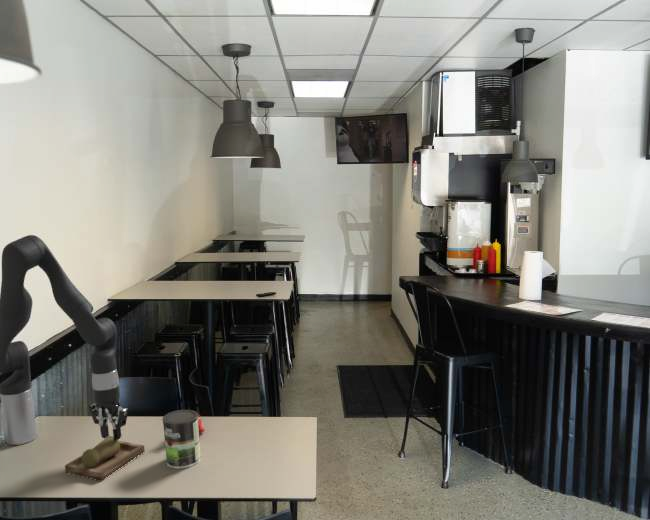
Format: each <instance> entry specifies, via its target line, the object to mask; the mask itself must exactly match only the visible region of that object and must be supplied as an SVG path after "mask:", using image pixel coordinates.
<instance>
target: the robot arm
mask: <svg viewBox="0 0 650 520" xmlns="http://www.w3.org/2000/svg"><path fill="white" fill-rule="evenodd" d="M2 249H3V250H2V253H1V282H0V283H1V284H0V375H3V374H7V373H12V374H11V375H10V376H9V377H8V378H6V379H5V380H2V382H0V404H1V405H0V406H1V412H2V413H1V415H0V416H1V424H2V432H3V438H4V442H6V444H7V445H11V446H18V445H23V444H27V443H30V442H32V441H33V440H35V439H36V438H38V432H37V423H36V416H35V415H36V414H35V406H34V400H33V399H34V398H33V391H32V385H31V384H32V383H31V381H32V378H31V377H32V375H31V364H30V362H31V361H30V354H29V348H28V346H27V344H26V343H25V342H24V341H22V340H16V341H13V340H15V338H16V337H17V336H18V335H19V334H20V333H21V332H22V331H23V329H24V328H25V327H26V326H27V324H28V323H29V321H30V319H31V314H32V309H33V298H32V295H31V294H30V293H29V291H28V289H26V288H25V278H26V275H27V272H28V271H29V270H32V269H34V268H35V267H39V268H40V269H41V270H42V271H43V272H44V273H45V274H46V276H47V277H48V280H49V283H50V287H51V291H52V295H53V298H54V301H55V303H56V304H57V306H59V308H60V309H61V310H62V311H63V312H64V313H65V314H66V315H67V317H68V318H69V319H70V320H71V321H72V322H73V324H74V327H75V329H76V330H77V332H78V334H79V335H80V337H81V338H82V339H83V341H84V342H85V343H86V344H88V345H89V346H93V347H94V351H93V352H92V353H91V355H90V369H91V383H92V384H91V385H92V394H93V402H94V403H92V404H91V405H89V406H88V410H89V411H90V415H91V417H92V420H93V424H94V425H98V426H99V429H100V435H101V438H102V439H105V438H107V437H108V436H110V432H109V424H108V423H110V424H111V426H112V436H113V437H114V440H116V441H117V440H118V441H119V440H120V439H121V438H122V427H124V426H126V424H127V419H128V414H129V408H127V407H124V408H123V407H122V406H121V404H120V401H119V400H120V398H121V391H120V381H119V374H118V369H117V359H116V349H117V341H118V338H117V337H118V331H117V325H116V324H115V322H114V321H113V320H112V319H111V318H109V317H102V318H99V319H96V317H95V315H94V314H93V312H94V306H93V305H92V303H91V302H90V301H89V300H88V299H87V298H86V297H85V296H84V294H83V293H81V291H80V290H79V289H78V288H77V287H76V285H74V284H73V282H72V281H71V279H70V278H69V276H68V275H67V273H66V272H65V270H64V269H63V267H62V266H61V264H60V263H59V262H58V260H57V259H56V257H55V256H54V254H53V252H52V251H51V250H50V248H49V247H48V245H47V244H46V243H45V241H43V239H41V238H40V237H39V236H36V235H35V234H29V235H25V236H23V237H21V238H18V239H16V240H14V241H10V242H9V243H7V244H6V245H5V246H4V248H2Z"/></svg>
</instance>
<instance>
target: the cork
mask: <svg viewBox="0 0 650 520" xmlns="http://www.w3.org/2000/svg"><path fill="white" fill-rule="evenodd" d="M119 441H120V440H119V439H118V440H117V441H116V440H114V437H113V435H109V436H108V437H106V438H103V440H101V441H100V442H99V443H97V445H95V446H93V448H89V449H86V450H85V451H83V453H82V455H81V456H82V458H81V459H82V463H83V464H84V465H85V466H86V467H94V466H95V465H97V464H98V462H99V461H101V460H104V459H106V458H109V457H111V456H114V455H116V454H117V453H118V452H119V451H120V444H119Z"/></svg>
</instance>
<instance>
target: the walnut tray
mask: <svg viewBox="0 0 650 520" xmlns="http://www.w3.org/2000/svg"><path fill="white" fill-rule="evenodd" d="M118 441H119V444H120V451H119V452H118V453H117V454H116V455H114V456H111V457H109V458H106V459H104V460H101V461H99V462H98V464H97V465H95V466H94V467H86V466H85V465H84V464H83V463H82V459H81V458H82V455H80V456H79V457H77V458H75V459H73V460H72V461H69V462H68V463H66V464H65V465H64V469H65V474H68V473H70V474H69V475H72V474H75V475H74V476H76V475H79V476H78V477H81V476H84V477H83V478H85V477H88V478H87V479H90V478H92V479H91V480H94V479H96V480H95V481H98V480H101V481H100V482H103V481H104V479H105V478H106V477H108V476H109V475H111V474H112V473H113V472H115V471H116V470H118V469H119V468H121V467H122V466H124V465H125V464H127V463H128V462H130V461H131V460H133V459H134V458H135V457H137V456H138V455H140V454H141V453H143V452H145V445H142V444H139V443H133V442H127V441H123V440H118ZM133 461H134V460H133ZM130 463H131V462H130ZM127 465H128V464H127ZM124 467H125V466H124ZM121 469H122V468H121ZM118 471H119V470H118ZM115 473H116V472H115ZM112 475H113V474H112ZM112 475H111V476H112ZM109 477H110V476H109ZM109 477H108V478H109ZM106 479H107V478H106ZM106 479H105V480H106ZM102 480H103V481H102Z"/></svg>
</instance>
